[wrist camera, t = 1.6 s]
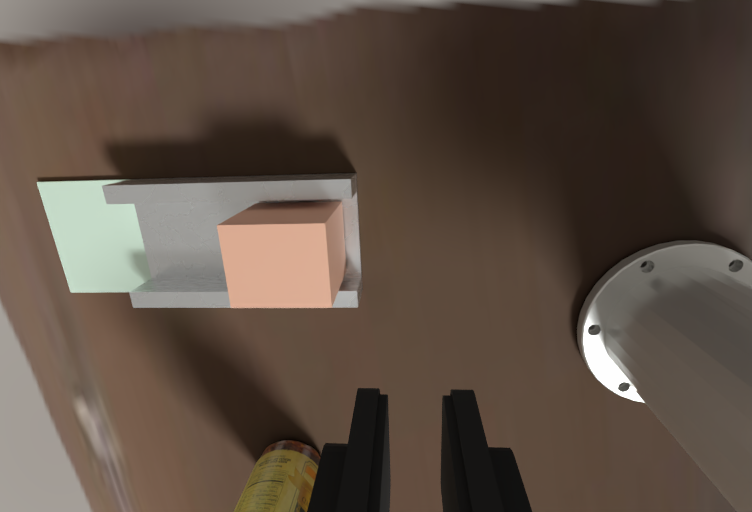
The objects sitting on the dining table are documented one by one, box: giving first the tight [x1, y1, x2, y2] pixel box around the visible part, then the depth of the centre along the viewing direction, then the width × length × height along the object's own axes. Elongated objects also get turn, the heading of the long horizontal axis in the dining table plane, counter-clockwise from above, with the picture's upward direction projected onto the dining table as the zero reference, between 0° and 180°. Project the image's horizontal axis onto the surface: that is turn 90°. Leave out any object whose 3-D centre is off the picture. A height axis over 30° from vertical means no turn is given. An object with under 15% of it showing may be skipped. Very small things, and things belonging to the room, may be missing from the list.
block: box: [217, 201, 346, 308], centre depth 25 cm, size 6×5×6 cm
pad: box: [37, 179, 151, 292], centre depth 30 cm, size 7×9×1 cm
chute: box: [102, 173, 362, 308], centre depth 28 cm, size 16×9×3 cm, turn 92°
